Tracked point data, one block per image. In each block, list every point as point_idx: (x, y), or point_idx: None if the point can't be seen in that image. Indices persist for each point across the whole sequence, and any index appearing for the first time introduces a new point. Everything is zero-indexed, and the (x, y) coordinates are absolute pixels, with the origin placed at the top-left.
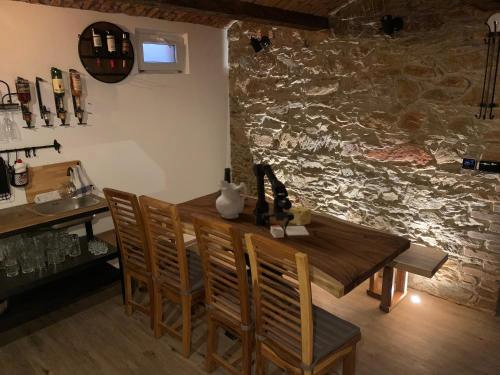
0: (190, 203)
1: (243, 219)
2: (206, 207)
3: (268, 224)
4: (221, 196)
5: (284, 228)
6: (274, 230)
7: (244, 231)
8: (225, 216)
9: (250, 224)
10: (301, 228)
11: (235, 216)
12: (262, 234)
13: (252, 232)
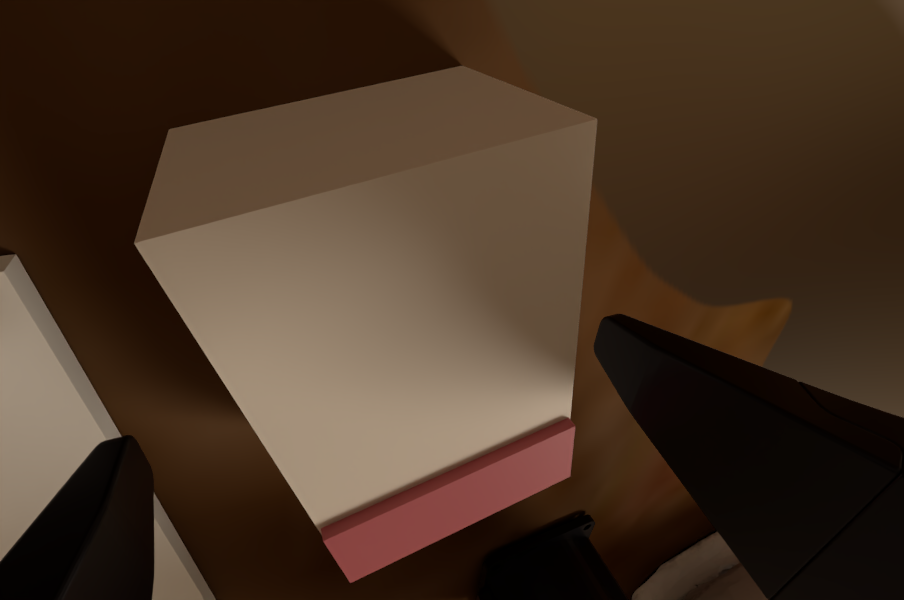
0: None
1: (633, 562)
2: None
3: (850, 400)
4: None
5: (198, 577)
6: (582, 215)
7: (777, 332)
8: None
9: (629, 506)
10: None
11: (676, 571)
12: (640, 266)
13: (722, 319)
